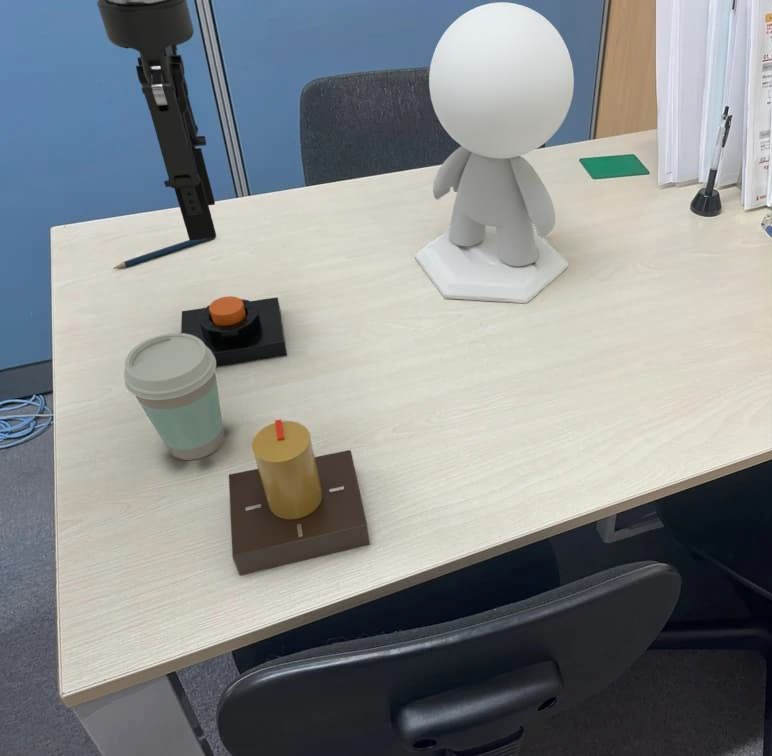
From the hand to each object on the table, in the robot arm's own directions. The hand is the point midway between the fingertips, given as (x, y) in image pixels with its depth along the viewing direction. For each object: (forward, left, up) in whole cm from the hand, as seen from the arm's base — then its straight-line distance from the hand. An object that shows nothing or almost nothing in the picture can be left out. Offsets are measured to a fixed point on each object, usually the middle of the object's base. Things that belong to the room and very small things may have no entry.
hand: (202, 220), depth 80 cm
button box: (0, 0, -17) cm, 17 cm away
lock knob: (+5, -31, -14) cm, 34 cm away
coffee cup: (-5, -17, -17) cm, 25 cm away
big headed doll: (+37, +9, -17) cm, 42 cm away
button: (0, 0, -13) cm, 13 cm away
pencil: (-9, +24, -17) cm, 31 cm away
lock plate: (+5, -31, -17) cm, 36 cm away
